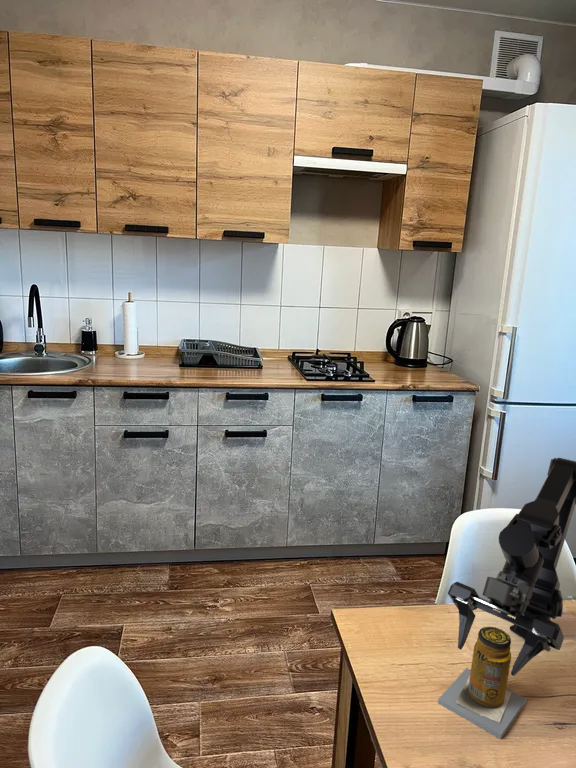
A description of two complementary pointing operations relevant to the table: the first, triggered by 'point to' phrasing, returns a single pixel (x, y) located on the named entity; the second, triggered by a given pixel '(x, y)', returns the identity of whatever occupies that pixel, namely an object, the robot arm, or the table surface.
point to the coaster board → (483, 722)
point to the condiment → (488, 675)
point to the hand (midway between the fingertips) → (485, 661)
